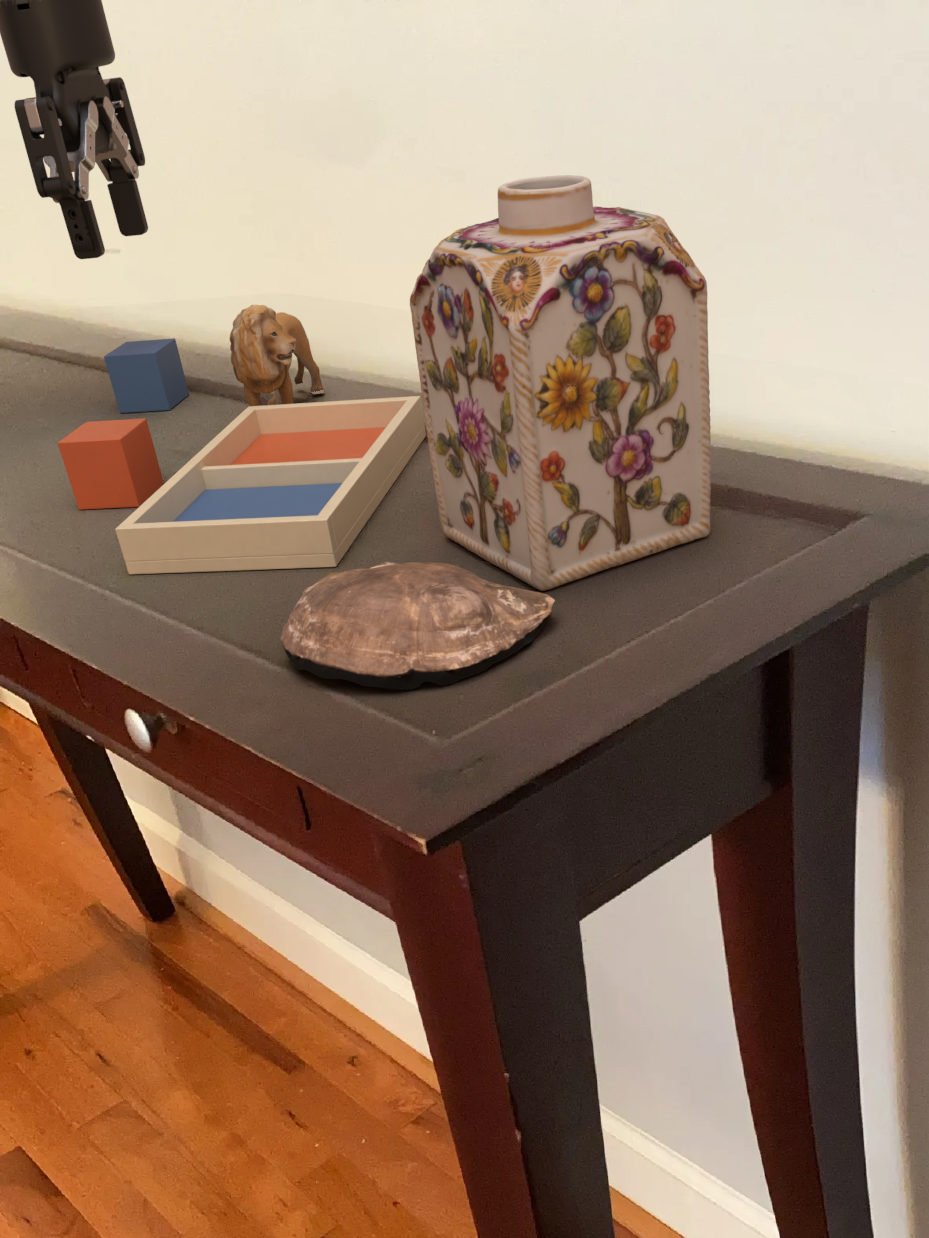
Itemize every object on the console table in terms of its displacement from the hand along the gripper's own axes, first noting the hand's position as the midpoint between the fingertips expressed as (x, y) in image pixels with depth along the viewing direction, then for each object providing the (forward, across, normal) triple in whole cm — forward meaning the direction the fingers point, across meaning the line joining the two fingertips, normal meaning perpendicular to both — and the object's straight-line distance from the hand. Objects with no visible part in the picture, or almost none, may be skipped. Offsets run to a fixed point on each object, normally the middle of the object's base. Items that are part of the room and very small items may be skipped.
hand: (114, 245), depth 100 cm
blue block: (+12, 0, 0) cm, 12 cm away
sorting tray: (+12, +25, +20) cm, 34 cm away
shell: (+12, +47, +33) cm, 59 cm away
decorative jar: (+12, +34, +40) cm, 54 cm away
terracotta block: (+12, +23, +7) cm, 27 cm away
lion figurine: (+12, +6, +14) cm, 19 cm away
